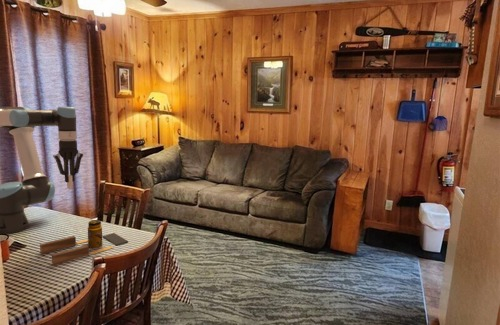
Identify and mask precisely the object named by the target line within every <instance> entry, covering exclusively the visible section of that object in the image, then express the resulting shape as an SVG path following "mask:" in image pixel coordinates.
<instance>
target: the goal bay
mask: <svg viewBox="0 0 500 325" xmlns="http://www.w3.org/2000/svg"><path fill="white" fill-rule="evenodd" d="M85 243H88V238H87V239H84V240H79V241H76V245H79V244H81V245H82V244H85ZM113 249H114V246H107V247H105V248H104V247H103V248H99V249H97V250H94V251H91V252H90V251H89V255H95V254H98V253H103V252H105V251H108V250H113Z"/></svg>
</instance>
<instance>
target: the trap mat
mask: <svg viewBox="0 0 500 325" xmlns="http://www.w3.org/2000/svg"><path fill="white" fill-rule="evenodd" d="M102 239H105V240H106V241H108V242H110V243H111V244H113V245H114V246H121V245H124V244H127V243H129V241H128V240H127V239H125V238H124V237H122V236H120V235H119V234H117V233H115V232H113V233H109V234H105V235H102Z"/></svg>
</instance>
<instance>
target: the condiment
mask: <svg viewBox="0 0 500 325" xmlns="http://www.w3.org/2000/svg"><path fill="white" fill-rule="evenodd" d="M87 224H88V227H87V239H88V242H87V243H86V244H85V243H82V244H81V246H85V245H87V246H89V251H92V250H96V249H97V250H98V249H103V248H104V247H105V248H106V246H105V245H104V244H103V237H102V236H103V226H102V222H101V220H100V219H93V220H89V221H88V223H87Z"/></svg>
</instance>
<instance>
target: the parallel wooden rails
mask: <svg viewBox="0 0 500 325" xmlns="http://www.w3.org/2000/svg"><path fill="white" fill-rule="evenodd" d="M76 239H77V238H76V236H75V235H72V236H68V237H63V238H60V239H56V240H52V241H47V242H43V243H40V244H39V249H40V252H39V253H40V254H41V255H45V254H49V253H53V252H56V251H59V250H64V249H66V248H71V247H75V246H76V245H77V243H76V242H77V241H76ZM87 256H90V250H89V246H87V245H85V246H82V245H81V246H79V247H75V248H71V249H68V250H64V251H61V252H57V253H53V254H51V265H53V266H57V265H61V264H63V263H67V262H71V261H73V260H77V259H81V258H84V257H87Z"/></svg>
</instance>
